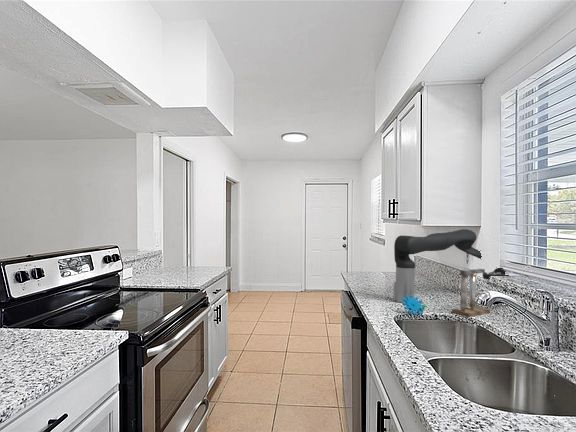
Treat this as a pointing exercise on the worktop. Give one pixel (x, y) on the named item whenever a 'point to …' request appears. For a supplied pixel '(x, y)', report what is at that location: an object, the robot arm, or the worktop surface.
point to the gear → (413, 305)
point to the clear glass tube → (472, 290)
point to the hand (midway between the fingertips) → (485, 276)
